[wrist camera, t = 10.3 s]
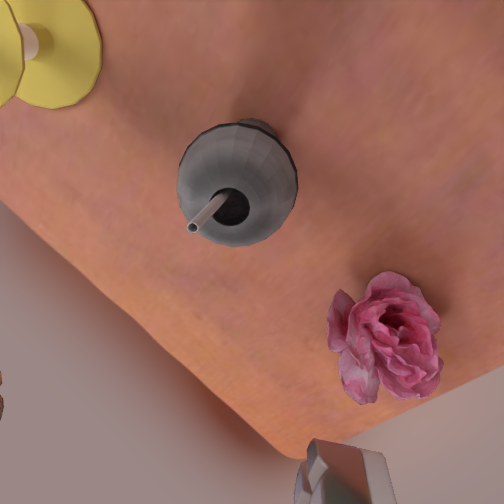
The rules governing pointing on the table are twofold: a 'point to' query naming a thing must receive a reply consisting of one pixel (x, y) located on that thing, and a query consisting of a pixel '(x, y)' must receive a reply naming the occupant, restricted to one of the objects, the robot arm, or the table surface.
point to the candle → (48, 51)
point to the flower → (385, 340)
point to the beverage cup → (237, 183)
